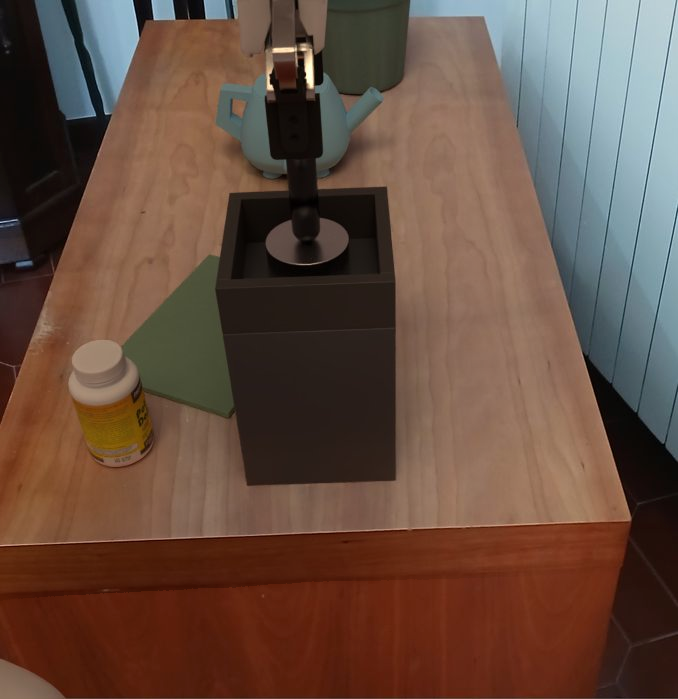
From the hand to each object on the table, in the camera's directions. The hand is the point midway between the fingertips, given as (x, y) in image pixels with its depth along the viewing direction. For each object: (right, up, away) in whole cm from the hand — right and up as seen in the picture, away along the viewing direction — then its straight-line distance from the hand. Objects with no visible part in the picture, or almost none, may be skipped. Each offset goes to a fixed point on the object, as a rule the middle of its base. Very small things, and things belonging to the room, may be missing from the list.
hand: (299, 118), depth 60 cm
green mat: (-9, -13, +29) cm, 33 cm away
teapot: (-2, +8, +53) cm, 54 cm away
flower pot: (+6, +23, +70) cm, 74 cm away
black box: (+1, -22, +19) cm, 29 cm away
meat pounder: (0, -10, +8) cm, 13 cm away
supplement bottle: (-16, -23, +18) cm, 34 cm away
